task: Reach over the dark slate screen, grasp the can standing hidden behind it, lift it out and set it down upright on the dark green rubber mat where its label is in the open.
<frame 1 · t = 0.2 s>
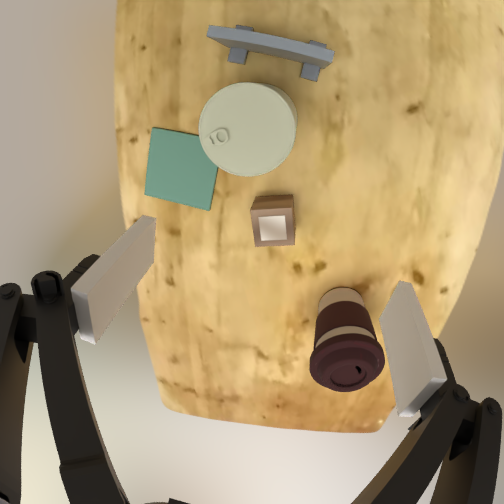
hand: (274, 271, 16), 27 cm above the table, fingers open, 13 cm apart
can: (260, 118, 38), on the table
mat: (181, 168, 43), on the table
letter cube: (276, 212, 44), on the table
screen: (277, 52, 33), on the table
coffee cup: (340, 303, 50), on the table
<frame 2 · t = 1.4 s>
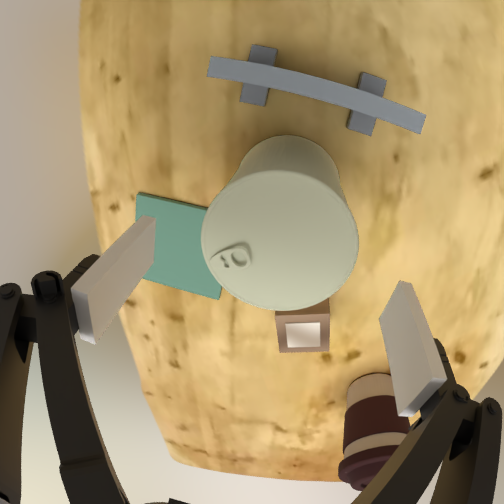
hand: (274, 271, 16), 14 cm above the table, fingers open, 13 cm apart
can: (288, 185, 28), on the table
mat: (180, 247, 33), on the table
letter cube: (304, 302, 34), on the table
screen: (313, 87, 23), on the table
coffee cup: (372, 386, 40), on the table
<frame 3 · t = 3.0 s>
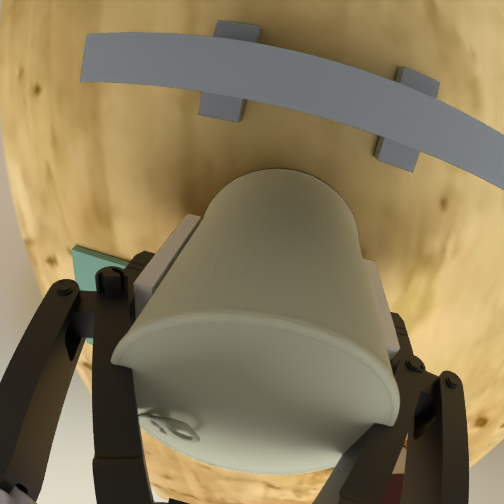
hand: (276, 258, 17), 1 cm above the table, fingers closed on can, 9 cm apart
can: (279, 244, 19), on the table, touching gripper
mat: (135, 316, 23), on the table
screen: (320, 90, 14), on the table
coffee cup: (378, 454, 31), on the table
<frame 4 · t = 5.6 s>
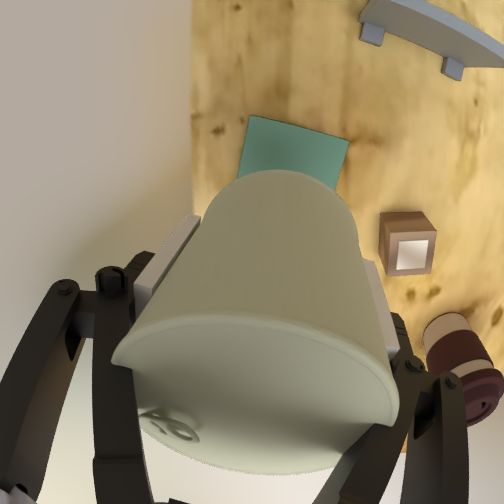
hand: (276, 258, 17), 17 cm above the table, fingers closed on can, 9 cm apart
can: (278, 244, 19), point 16 cm above the table, touching gripper
mat: (288, 172, 32), on the table
letter cube: (399, 232, 34), on the table
screen: (416, 38, 23), on the table
coffee cup: (444, 329, 40), on the table
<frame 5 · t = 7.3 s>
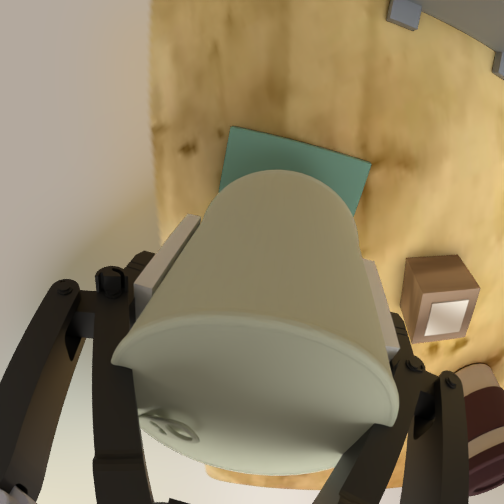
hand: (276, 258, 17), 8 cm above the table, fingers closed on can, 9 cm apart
can: (278, 244, 19), point 6 cm above the table, touching gripper
mat: (285, 206, 24), on the table
letter cube: (428, 280, 25), on the table
screen: (460, 23, 14), on the table
coffee cup: (465, 379, 31), on the table
when the fingers open (3 cm above the table, at t = 8.6 s): can drops 1 cm, resting on mat.
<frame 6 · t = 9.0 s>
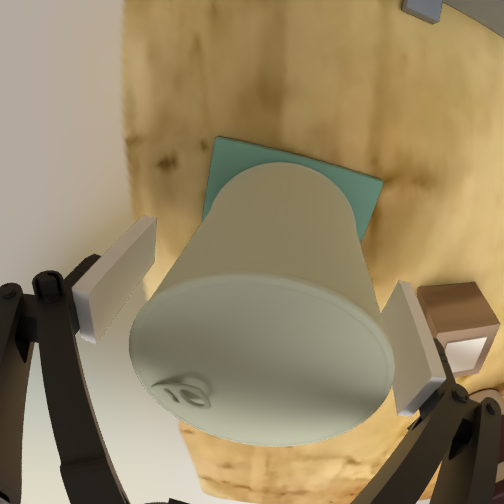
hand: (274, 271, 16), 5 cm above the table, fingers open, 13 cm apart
can: (281, 233, 20), resting on mat
mat: (281, 230, 20), on the table
letter cube: (441, 310, 22), on the table
screen: (485, 18, 11), on the table
coffee cup: (473, 405, 28), on the table
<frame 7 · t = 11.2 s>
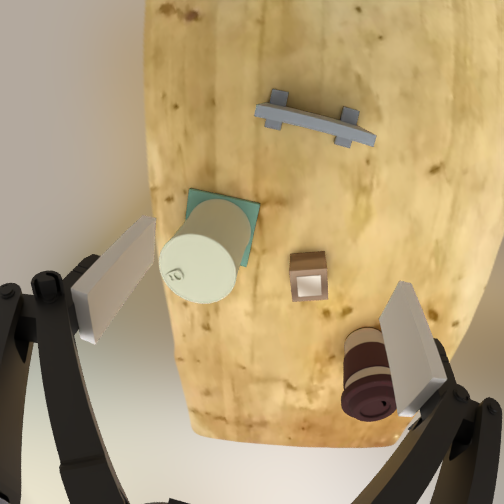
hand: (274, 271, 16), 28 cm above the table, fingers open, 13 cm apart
can: (219, 228, 46), resting on mat
mat: (219, 227, 46), on the table
letter cube: (308, 267, 48), on the table
screen: (311, 117, 38), on the table
coffee cup: (364, 341, 53), on the table
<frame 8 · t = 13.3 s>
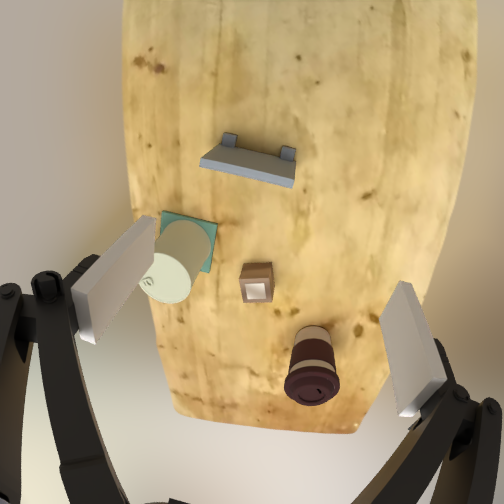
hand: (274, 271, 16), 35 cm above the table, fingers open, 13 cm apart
can: (186, 242, 57), resting on mat
mat: (186, 241, 57), on the table
letter cube: (259, 274, 59), on the table
screen: (256, 155, 48), on the table
coffee cup: (312, 337, 64), on the table
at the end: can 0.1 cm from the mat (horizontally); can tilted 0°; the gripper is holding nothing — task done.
